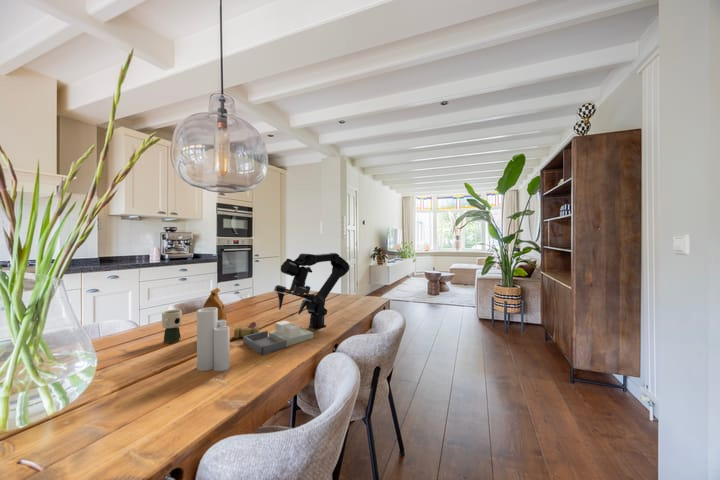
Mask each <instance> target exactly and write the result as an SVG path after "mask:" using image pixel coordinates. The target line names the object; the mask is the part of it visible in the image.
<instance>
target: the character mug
mask: <svg viewBox="0 0 720 480" xmlns="http://www.w3.org/2000/svg"><path fill="white" fill-rule="evenodd" d="M182 316H183V313H182V310H181V309H170V310H165V311H163V312H162V313H161V326H162V328H163V329H165V330H164V334H163V343H169V344H172V343H176V342H179V341H180V340H181V332H180V331H181V330H180V327H181V326H182V323H183V322H182Z"/></svg>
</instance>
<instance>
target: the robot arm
mask: <svg viewBox="0 0 720 480" xmlns="http://www.w3.org/2000/svg"><path fill="white" fill-rule="evenodd" d="M324 262H330V265H331V267H332V268H331V273H330V275H329V276H328V277H327V279H326V280H325V282H324V283H323V285H322V286H321V288H320V290H319V291H318V292H317V293H316V294H310V291H311V286H309V285H306V281H307V277H308V274H309V273H311V274H312V273H313V271H312V269H311V266H313V265H316V264H317V263H324ZM349 270H350V265H349V263H348V262H347V261H346V260H345V259H344V258H343V257H341V256H340V255H339V254H338V253H336V252H330V253H321V254H319V253H318V254H315V253H314V254H311V253H300V254H299V255H298V257H297V258H296V259H294V260H292V258H286V259H285V261H284V262H283V263H282V265H280V272H281V273H283V274H284V275H288V276H291V277H293V279H292V281H291V282H292V283H291V284H290V285H291V286H290V288H289V289H288V288H287V287H286V286H283V285H279V284H277V285H275V286H274V289H273V291H274V292H276V293H275V294H277V296H278V297H277V298H278V310H281V309H282V305H283V301H284V297H285V294H289V295H292V296H296V297H299V298H302V301H301V304H300V306H299V309H298V315H301V313H302V312H303V310H304V309H306V310H307V313H308V314H309V315H310V318H309V324H308V327H309V328H313V329H315V330H319V329H321V328H326V327H327V325H326V324H325V316H326V315H327V314H328V310H327V308H326V307H325V305H326V299H327V298H328V296H329V294H331V293H330V292H331V291H332V290H333V288H334V287H335V285H336V284H337V283H338V281H339V279H341V278H342V277H344V276H345V275H346V274H347V273H348V272H349ZM303 298H304V299H303Z"/></svg>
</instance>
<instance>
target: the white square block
mask: <svg viewBox="0 0 720 480" xmlns="http://www.w3.org/2000/svg"><path fill="white" fill-rule="evenodd" d="M288 325H292V323H291V321H287V320H282V321H281V320H280V321H278V322H275V325H274V327H275V328H274V331H275V332H277V333H279V334H284V326H288Z"/></svg>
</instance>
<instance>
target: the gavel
mask: <svg viewBox="0 0 720 480" xmlns="http://www.w3.org/2000/svg"><path fill="white" fill-rule="evenodd" d="M256 325H257V324H256V322H255V321H253V322H251V323H250V324H249V325H248V326H247V327H243V328H241V327H235V328H234V331H233V337H234V339H240V338H242V339H243V336H247V335H251V334H255V333H259V332H260V327H259V326H256Z"/></svg>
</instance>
